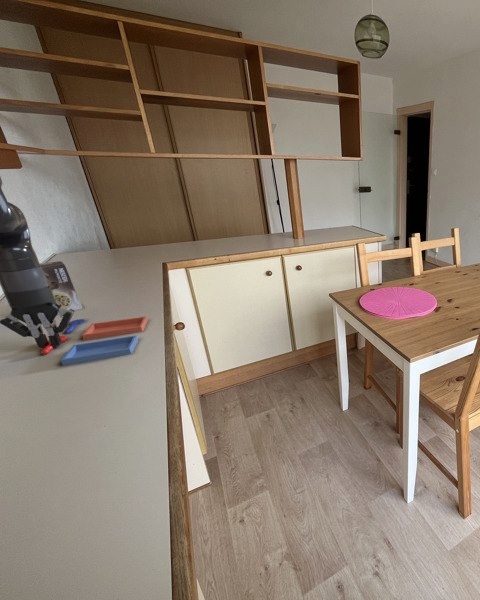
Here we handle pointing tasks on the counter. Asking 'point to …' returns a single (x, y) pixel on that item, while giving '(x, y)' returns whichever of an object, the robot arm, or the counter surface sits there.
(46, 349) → the red spoon
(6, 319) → the robot arm
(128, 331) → the red tray
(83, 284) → the counter surface
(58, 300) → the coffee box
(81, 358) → the blue tray
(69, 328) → the blue spoon
